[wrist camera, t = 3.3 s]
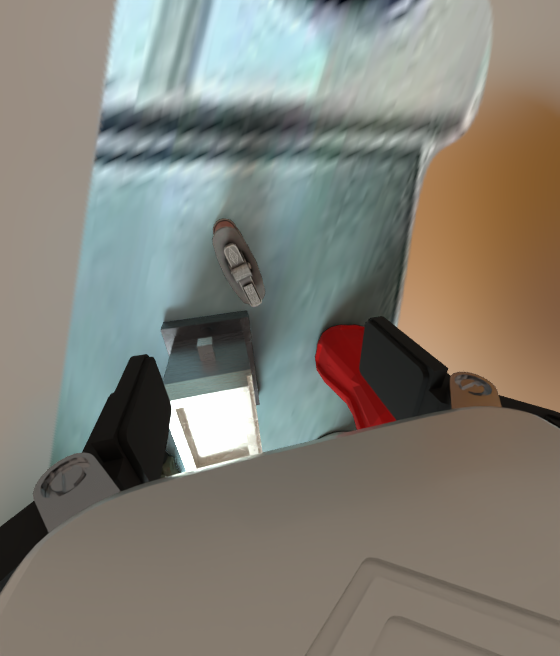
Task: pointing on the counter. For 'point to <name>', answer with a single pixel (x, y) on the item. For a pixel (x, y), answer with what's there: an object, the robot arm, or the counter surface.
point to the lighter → (238, 262)
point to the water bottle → (349, 374)
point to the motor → (212, 388)
